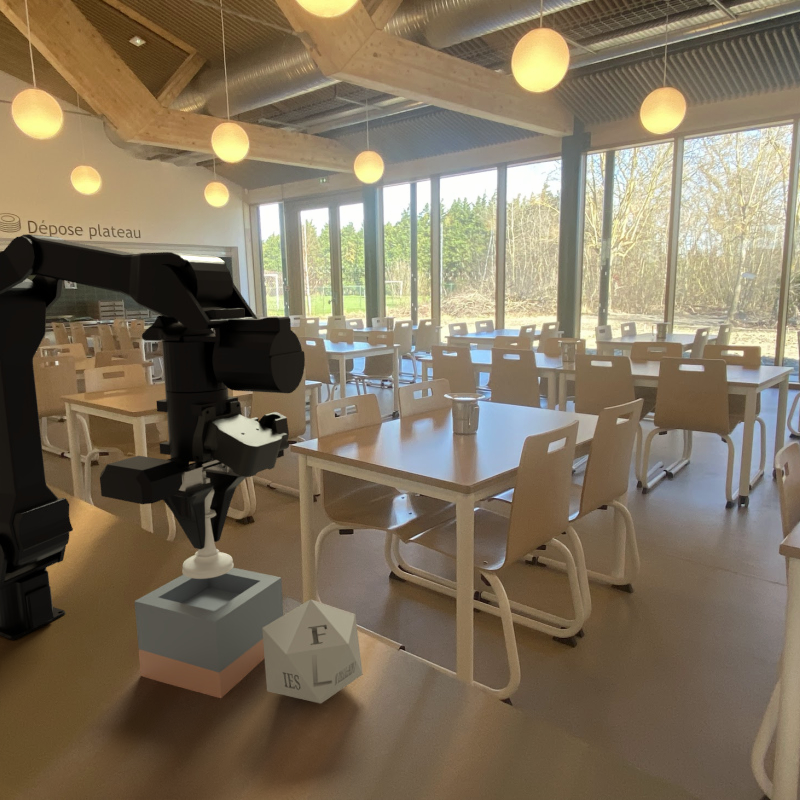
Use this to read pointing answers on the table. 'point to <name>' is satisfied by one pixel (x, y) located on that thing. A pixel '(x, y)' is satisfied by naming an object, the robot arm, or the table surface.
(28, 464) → the robot arm
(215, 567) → the chess piece
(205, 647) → the grey planter box
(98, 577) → the table surface
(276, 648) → the die
